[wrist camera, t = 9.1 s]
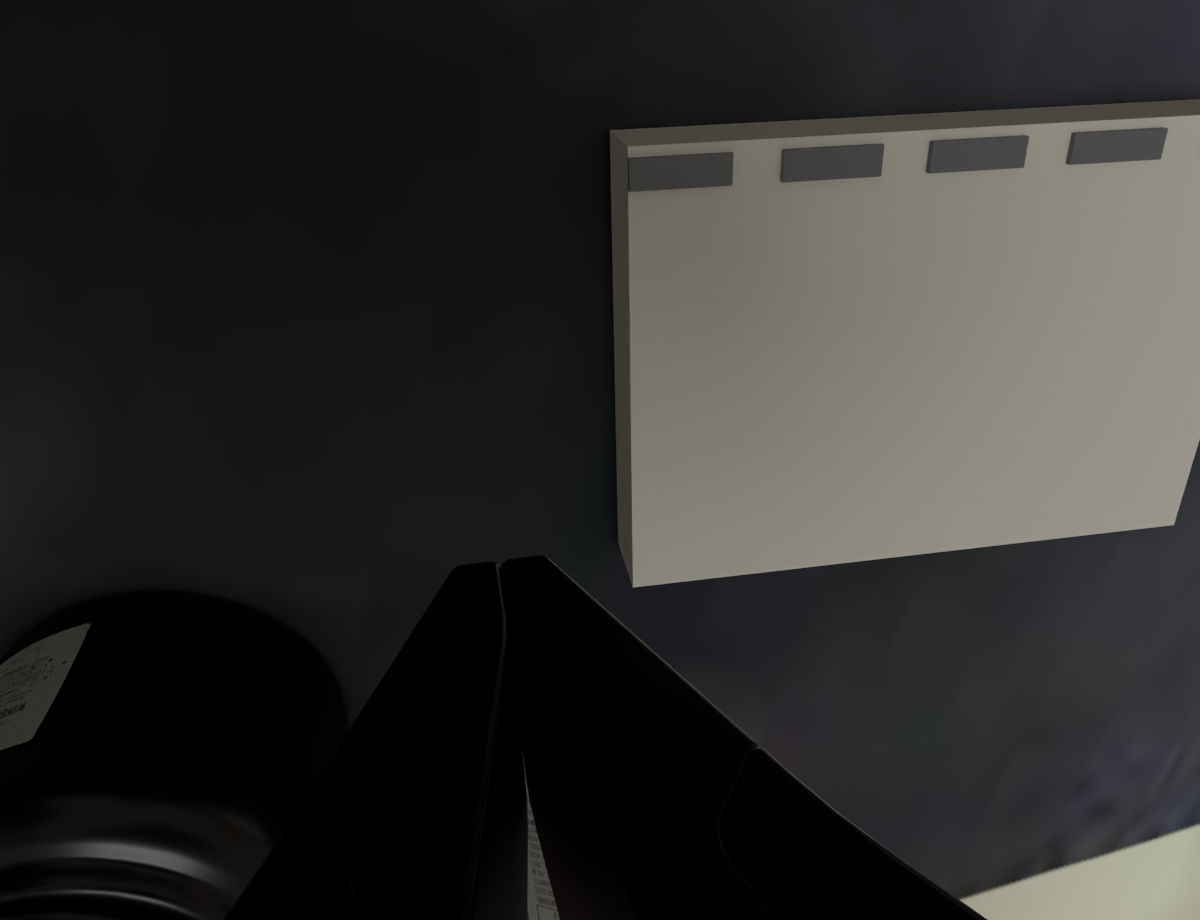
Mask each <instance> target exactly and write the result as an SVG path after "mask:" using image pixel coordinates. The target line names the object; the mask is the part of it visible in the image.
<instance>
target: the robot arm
mask: <svg viewBox="0 0 1200 920" xmlns="http://www.w3.org/2000/svg"><path fill="white" fill-rule="evenodd" d="M501 571H502V573H501ZM522 751H523V752H522ZM523 759H524V761H523ZM524 767H525V771H524ZM525 775H526V781H525ZM526 782H527V788H528V794H529V800H530V805H531V809H532V814H533V818H534V823H535V827H536V831H537V835H538V838H539V842H540V846H541V850H542V854H543V857H544V861H545V865H546V869H547V873H548V876H549V880H550V884H551V888H552V892H553V895H554V899H555V903H556V907H557V911H558V914H559V918H560V920H987V919H986V918H984V917H982V916H981V915H980V914H979V913H977V912H976V911H974V910H973V909H971V908H970V907H969V906H967V905H966V904H964V903H963V902H962V901H960V900H959V899H957V898H956V897H954V896H953V895H952V894H950V893H949V892H947V891H946V890H944V889H943V888H942V887H940V886H939V885H937V884H936V883H935V882H933V881H932V880H930V879H929V878H927V877H926V876H925V875H923V874H922V873H920V872H919V871H918V870H916V869H915V868H913V867H912V866H910V865H909V864H908V863H906V862H905V861H903V860H902V859H901V858H899V857H898V856H897V855H895V854H894V853H892V852H891V851H890V850H888V849H887V848H886V847H884V846H883V845H882V844H880V843H879V842H878V841H876V840H875V839H874V838H872V837H871V836H870V835H868V834H867V833H866V832H864V831H863V830H862V829H860V828H859V827H858V826H856V825H855V824H854V823H852V822H851V821H849V820H848V819H847V818H845V817H844V816H843V815H841V814H840V813H839V812H838V811H837V810H835V809H834V808H833V807H832V806H831V805H829V804H828V803H827V802H826V801H825V800H823V799H822V798H821V797H820V796H819V795H817V794H816V793H815V792H814V791H813V790H811V789H810V788H809V787H808V786H807V785H805V784H804V783H803V782H802V781H801V780H799V779H798V778H797V777H796V776H795V775H793V774H792V773H791V772H790V771H789V770H788V769H786V768H785V767H784V766H783V765H782V764H781V763H780V762H779V761H777V760H776V759H775V758H774V757H773V756H772V755H771V754H770V753H768V752H767V751H766V750H765V749H764V748H761V747H759V748H757V743H756V742H755V741H754V740H753V739H752V738H751V737H750V736H749V735H748V734H747V733H745V732H744V731H743V730H742V729H741V728H740V727H739V726H738V725H736V724H735V723H734V722H733V721H732V720H731V719H730V718H729V717H727V716H726V715H725V714H724V713H723V712H722V711H721V710H719V709H718V708H717V707H716V706H715V705H714V704H713V703H712V702H710V701H709V700H708V699H707V698H706V697H705V696H704V695H703V694H701V693H700V692H699V691H698V690H697V689H696V688H695V687H694V686H692V685H691V684H690V683H689V682H688V681H687V680H686V679H685V678H683V677H682V676H681V675H680V674H679V673H678V672H677V671H676V670H674V669H673V668H672V667H671V666H670V665H669V664H668V663H667V662H665V661H664V660H663V659H662V658H661V657H660V656H659V655H658V654H656V653H655V652H654V651H653V650H652V649H651V648H650V647H649V646H647V645H646V644H645V643H644V642H643V641H642V640H641V639H639V638H638V637H637V636H636V635H635V634H634V633H633V632H632V631H630V630H629V629H628V628H627V627H626V626H625V625H624V624H623V623H621V622H620V621H619V620H618V619H617V618H616V617H615V616H614V615H612V614H611V613H610V612H609V611H608V610H607V609H606V608H605V607H603V606H602V605H601V604H600V603H599V602H598V601H597V600H596V599H594V598H593V597H592V596H591V595H590V594H589V593H588V592H587V591H585V590H584V589H583V588H582V587H581V586H580V585H579V584H578V583H576V582H575V581H574V580H573V579H572V578H571V577H570V576H569V575H567V574H566V573H565V572H564V571H563V570H562V569H561V568H560V567H558V566H557V565H556V564H555V563H554V562H553V561H552V560H550V559H549V558H548V557H546V556H543V555H538V556H530V557H522V558H515V559H508V560H506V561H505V562H503V564H502V566H501V568H500V566H499V565H498V563H496V562H483V563H475V564H467V565H460V566H457V567H455V568H454V569H453V570H452V571H451V573H450V574H449V576H448V577H447V579H446V580H445V582H444V583H443V585H442V586H441V588H440V590H439V591H438V593H437V594H436V596H435V597H434V599H433V600H432V602H431V604H430V605H429V607H428V608H427V610H426V611H425V613H424V614H423V616H422V617H421V619H420V621H419V622H418V624H417V625H416V627H415V628H414V630H413V631H412V633H411V635H410V636H409V638H408V639H407V641H406V642H405V644H404V645H403V647H402V648H401V650H400V652H399V653H398V655H397V656H396V658H395V659H394V661H393V662H392V664H391V666H390V667H389V669H388V670H387V672H386V673H385V675H384V676H383V678H382V680H381V681H380V683H379V684H378V686H377V687H376V689H375V690H374V692H373V693H372V695H371V697H370V698H369V700H368V701H367V703H366V704H365V706H364V707H363V709H362V711H361V712H360V714H359V715H358V717H357V718H356V720H355V721H354V723H353V724H352V726H351V728H350V729H349V731H348V732H347V734H346V735H345V737H344V738H343V740H342V742H341V743H340V745H339V746H338V748H337V749H336V751H335V752H334V754H333V755H332V757H331V759H330V760H329V762H328V763H327V765H326V766H325V768H324V769H323V771H322V773H321V774H320V776H319V777H318V779H317V780H316V782H315V783H314V785H313V787H312V788H311V790H310V791H309V793H308V794H307V796H306V797H305V799H304V800H303V802H302V804H301V805H300V807H299V808H298V810H297V811H296V813H295V814H294V821H292V822H290V823H288V824H287V826H286V827H285V829H284V830H283V832H282V834H281V835H280V837H279V838H278V840H277V841H276V843H275V845H274V846H273V848H272V849H271V851H270V852H269V854H268V855H267V857H266V859H265V860H264V861H263V863H262V864H261V866H260V867H259V869H258V870H257V872H256V873H255V875H254V876H253V877H252V879H251V880H250V882H249V883H248V885H247V886H246V888H245V889H244V891H243V892H242V893H241V895H240V896H239V898H238V899H237V901H236V902H235V904H234V905H233V906H232V908H231V909H230V911H229V912H228V914H227V915H226V917H225V918H224V919H223V920H527V909H528V804H527V792H526Z"/></svg>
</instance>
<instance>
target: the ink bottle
mask: <svg viewBox="0 0 1200 920" xmlns="http://www.w3.org/2000/svg"><path fill="white" fill-rule="evenodd" d="M347 732H348V729H347V722H346V717H345V712H344V709H343V705H342V702H341V699H340V697H339V694H338V692H337V690H336V688H335V686H334V684H333V682H332V680H331V679H330V677H329V675H328V674H327V672H326V671H325V670H324V668H323V667H322V666H321V664H320V663H319V662H318V661H317V660H316V659H315V658H314V657H313V656H312V655H311V654H310V653H309V652H308V651H307V650H306V649H305V648H304V647H302V646H301V645H300V644H299V643H297V642H296V641H295V640H293V639H292V638H290V637H289V636H287V635H286V634H284V633H282V632H281V631H279V630H277V629H275V628H273V627H271V626H269V625H267V624H265V623H263V622H261V621H258V620H256V619H253V618H251V617H248V616H245V615H242V614H239V613H236V612H233V611H229V610H225V609H222V608H217V607H213V606H208V605H203V604H196V603H190V602H181V601H167V600H138V601H124V602H116V603H109V604H103V605H98V606H93V607H89V608H85V609H82V610H78V611H75V612H72V613H69V614H67V615H64V616H62V617H59V618H57V619H55V620H52V621H50V622H48V623H47V624H45V625H43V626H41V627H39V628H38V629H36V630H35V631H33V632H32V633H30V634H29V635H27V636H26V637H25V638H23V639H22V640H21V641H20V642H19V643H18V644H16V645H15V646H14V647H13V648H12V649H11V650H10V651H9V652H8V653H7V654H6V655H5V656H4V658H3V659H2V660H1V661H0V920H223V919H224V918H225V917H226V915H227V914H228V912H229V911H230V909H231V908H232V906H233V905H234V904H235V902H236V901H237V899H238V898H239V896H240V895H241V893H242V892H243V891H244V889H245V888H246V886H247V885H248V883H249V882H250V880H251V879H252V877H253V876H254V875H255V873H256V872H257V870H258V869H259V867H260V866H261V864H262V863H263V861H264V860H265V859H266V857H267V855H268V854H269V852H270V851H271V849H272V848H273V846H274V845H275V843H276V841H277V840H278V838H279V837H280V835H281V834H282V832H283V830H284V829H285V827H286V826H287V824H288V823H290V822H292V821H294V814H295V813H296V811H297V810H298V808H299V807H300V805H301V804H302V802H303V800H304V799H305V797H306V796H307V794H308V793H309V791H310V790H311V788H312V787H313V785H314V783H315V782H316V780H317V779H318V777H319V776H320V774H321V773H322V771H323V769H324V768H325V766H326V765H327V763H328V762H329V760H330V759H331V757H332V755H333V754H334V752H335V751H336V749H337V748H338V746H339V745H340V743H341V742H342V740H343V738H344V737H345V735H346V734H347Z"/></svg>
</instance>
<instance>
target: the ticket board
mask: <svg viewBox="0 0 1200 920" xmlns="http://www.w3.org/2000/svg"><path fill="white" fill-rule="evenodd" d="M610 168H611V217H612V266H613V316H614V365H615V414H616V464H617V513H618V543H619V547H620V550H621V553H622V556H623V559H624V562H625V565H626V568H627V571H628V574H629V577H630V580H631V583H632V586H633V587H642V586H650V585H659V584H668V583H676V582H685V581H694V580H702V579H711V578H719V577H728V576H737V575H745V574H754V573H763V572H771V571H780V570H789V569H797V568H806V567H815V566H823V565H832V564H841V563H849V562H858V561H867V560H875V559H884V558H892V557H901V556H910V555H918V554H927V553H936V552H944V551H953V550H962V549H970V548H979V547H988V546H996V545H1005V544H1014V543H1022V542H1031V541H1040V540H1048V539H1057V538H1065V537H1074V536H1083V535H1091V534H1100V533H1109V532H1117V531H1126V530H1135V529H1143V528H1152V527H1161V526H1169V525H1174V523H1175V519H1176V516H1177V513H1178V509H1179V506H1180V503H1181V499H1182V496H1183V493H1184V489H1185V486H1186V483H1187V479H1188V476H1189V473H1190V469H1191V466H1192V463H1193V459H1194V456H1195V453H1196V450H1197V446H1198V443H1199V440H1200V99H1191V100H1172V101H1154V102H1135V103H1116V104H1097V105H1078V106H1059V107H1040V108H1021V109H1002V110H983V111H964V112H945V113H926V114H907V115H888V116H869V117H850V118H831V119H812V120H794V121H775V122H756V123H737V124H718V125H699V126H680V127H661V128H642V129H623V130H610Z"/></svg>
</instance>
